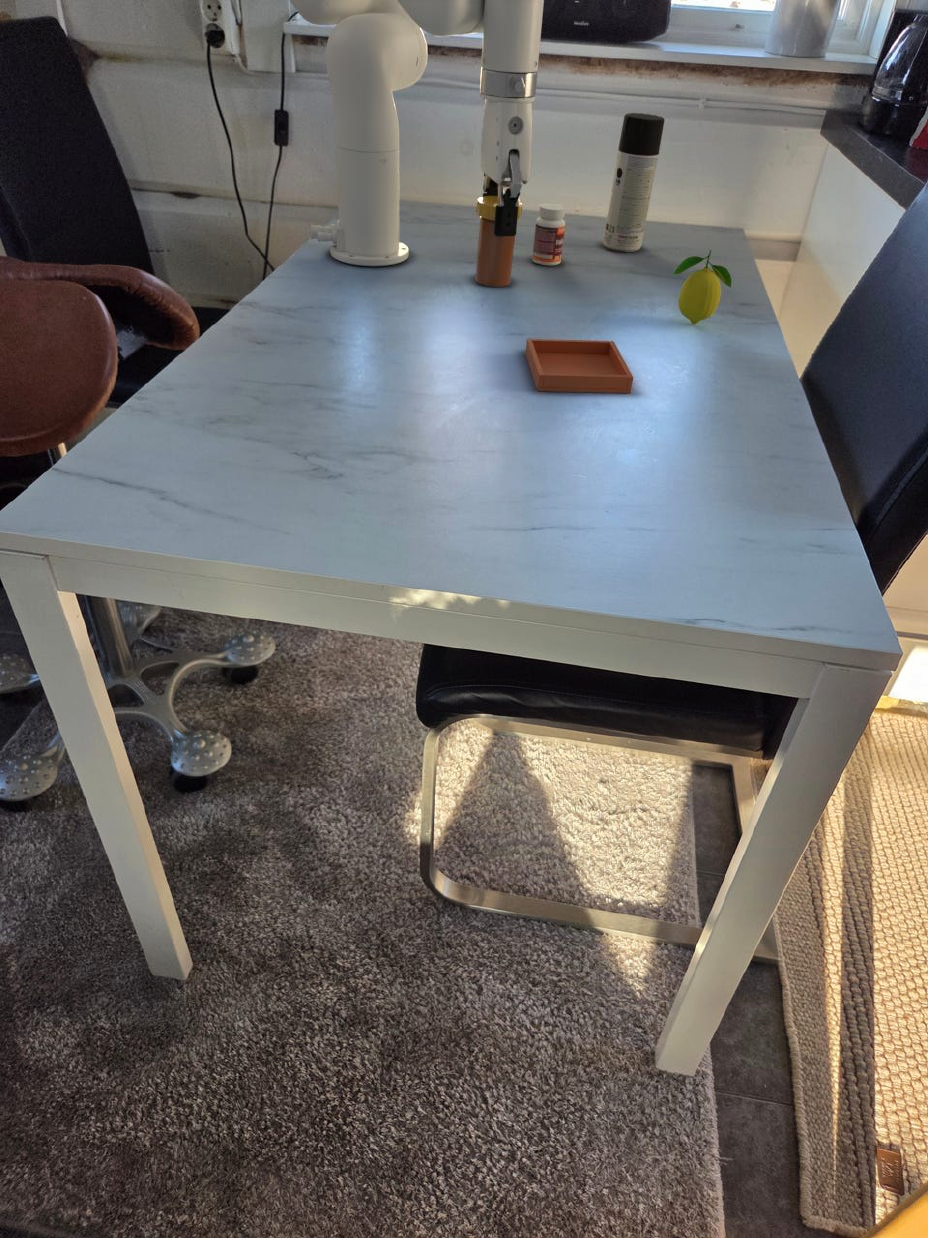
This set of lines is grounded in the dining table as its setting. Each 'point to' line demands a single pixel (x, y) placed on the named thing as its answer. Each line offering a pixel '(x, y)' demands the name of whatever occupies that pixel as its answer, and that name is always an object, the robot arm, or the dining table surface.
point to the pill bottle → (549, 235)
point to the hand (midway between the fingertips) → (498, 227)
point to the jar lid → (491, 207)
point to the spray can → (633, 181)
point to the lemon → (701, 289)
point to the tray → (578, 366)
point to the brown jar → (493, 256)
